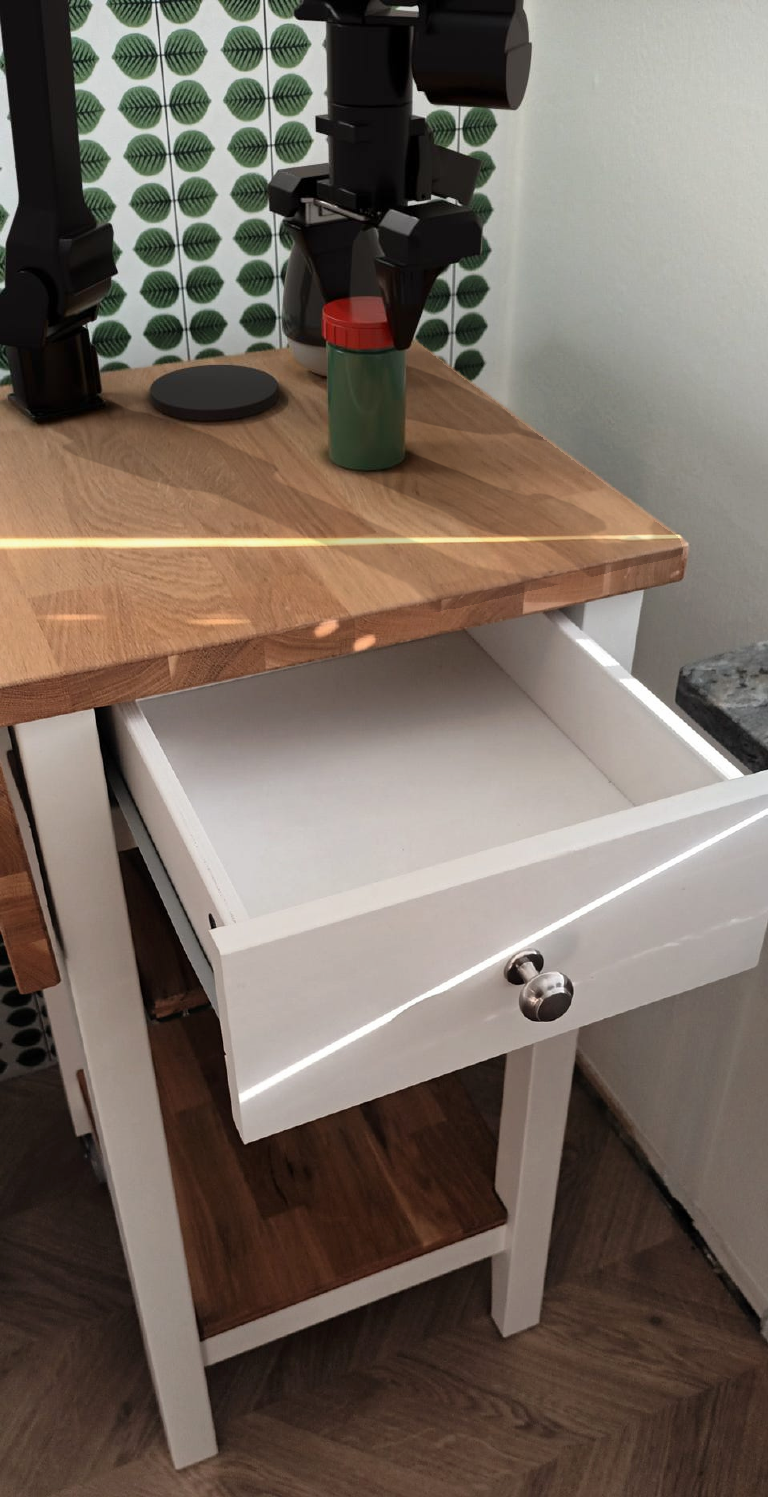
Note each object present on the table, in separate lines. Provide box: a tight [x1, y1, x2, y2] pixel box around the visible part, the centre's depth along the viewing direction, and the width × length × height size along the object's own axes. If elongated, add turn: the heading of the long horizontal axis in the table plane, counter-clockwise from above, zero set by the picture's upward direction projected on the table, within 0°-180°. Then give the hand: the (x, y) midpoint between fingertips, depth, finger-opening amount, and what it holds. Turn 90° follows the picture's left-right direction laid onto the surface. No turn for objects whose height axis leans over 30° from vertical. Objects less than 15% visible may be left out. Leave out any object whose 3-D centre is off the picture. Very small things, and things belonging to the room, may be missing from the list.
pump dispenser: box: [281, 212, 384, 377], centre depth 110 cm, size 10×10×15 cm
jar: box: [326, 341, 408, 472], centre depth 95 cm, size 6×6×11 cm
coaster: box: [149, 364, 280, 422], centre depth 108 cm, size 11×11×1 cm
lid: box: [322, 296, 394, 349], centre depth 92 cm, size 6×6×2 cm
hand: (370, 334), depth 92 cm, fingers open, 8 cm apart
